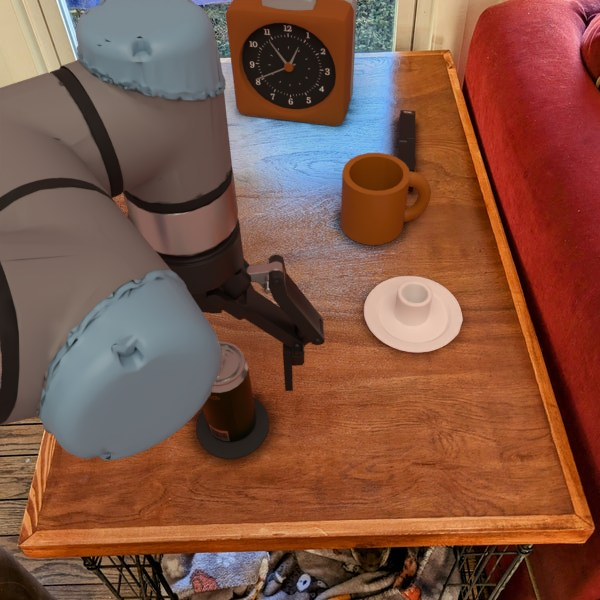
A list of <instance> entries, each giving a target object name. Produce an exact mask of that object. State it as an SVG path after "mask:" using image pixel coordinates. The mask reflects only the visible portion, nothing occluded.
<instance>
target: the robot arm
mask: <svg viewBox="0 0 600 600" xmlns="http://www.w3.org/2000/svg"><path fill="white" fill-rule="evenodd" d="M75 38H76V42H77V46H76V55H77V58H78V59H76V60H74V61H72V62H68V63H66V64H62V65H60V67H59V68H58V69H55V70H52V71H49V72H45V73H41V74H38V75H36V76H32V77H29V78H27V79H23V80H20V81H17V82H13V83H11V84H8V85H5V86H2V87H0V426H3V425H8V424H12V423H17V422H20V421H24V420H28V419H32V418H33V419H34V418H39V419H40V422H41V424H42V426H43V427H42V428H43V430H44V431H45V432H46V433H48V434H49V435H52V436H53V437H54V439H55V440H56V443H57V444H58V445H59V446H60V447H61V449H62V450H64V451H65V452H67V454H70V455H72V456H74V457H78V458H80V459H83V460H88V459H93V458H99V459H100V460H103V461H116V460H117V461H118V460H122V459H126V458H130V457H133V456H135V455H138V454H141V453H144V452H146V451H148V450H150V449H152V448H153V447H155V446H158V445H159V444H160V443H162V442H164V441H166V440H168V439H169V438H171V437H172V436H173V435H175V434H176V433H177V432H178V431H180V430H181V429H182V428H183V427H185V425H187V424H188V423H189V422H190V421H191V420H192V419H193V418H194V417H195V416H196V415H197V413H198V412H199V411H200V410H202V406H203V405H204V403H205V402H206V400H207V399H208V397H209V396H210V394H211V391H212V387H213V384H214V382H215V381H216V380H217V377H218V375H219V372H220V368H221V361H222V352H221V346H220V343H219V342H220V340H219V337H218V335H217V332H216V331H215V329H214V327H213V326H212V324H211V323H210V322H209V320H208V319H207V317H206V315H205V314H222V313H223V311H224V312H225V313H227V314H228V315H229V316H231V317H233V318H235V319H236V320H237V321H242V320H245V321H247V322H249V323H250V324H252V325H253V326H256V327H257V328H258V329H259V330H261V331H263V332H264V333H266V334H268V335H269V336H271V337H272V338H274V339H276V340H277V341H279V342H280V343H282V360H283V361H282V362H283V376H284V377H283V379H284V391H285V392H293V391H294V387H293V386H294V383H293V382H294V381H293V377H294V376H293V367H297V366H299V367H300V366H303V365H304V364H305V347H306V346H307V345H308V344H312V345H314V346H322V345H324V343H325V342H326V340H325V329H324V328H325V327H324V318H323V317H322V315H321V314H320V313H319V311H318V310H317V308H315V306H314V305H313V303H312V302H311V301H310V300H309V298H307V296H306V295H305V294H304V293H303V291H302V290H301V289H300V288H299V286H298V285H297V284H296V283H295V282H294V280H293V279H292V277H290V275H289V274H288V273H287V269H286V264H285V260H284V257H283V255H280V254H272V255H270V256H269V258H268V263H261V264H251V265H250V263H249V262H248V261H247V260H246V259H245V257H244V251H243V242H242V232H241V225H240V220H239V208H238V200H237V199H238V198H237V191H236V183H235V177H234V176H235V175H234V170H233V163H232V154H231V143H230V134H229V124H228V116H227V115H228V114H227V107H226V106H227V105H226V96H225V90H226V86H227V85H226V78H225V76H224V74H223V67H222V62H221V56H220V50H219V46H218V41H217V38H216V34H215V29H214V26H213V23H212V20H211V17H210V16H209V15H208V13H207V12H206V11H205V10H204V8H203V7H201V6H200V5H198V4H197V3H195V2H194V1H193V0H100V1H99V3H98V5H96V6H91V7H88V8H87V9H86V10H85V11H84V12H83V13H82V14H81V16H80V17H79V19H78V21H77V24H76V27H75ZM121 195H123V199H124V203H125V206H126V210H127V214H128V213H129V216H130V220H131V221H130V220H129V219H128V217H127V215H126V214H125V212H124V211H123V210H122V209H121V207H120V206H119V205H118V204H117V202H116V201H115V200H114V198H116V197H118V196H121ZM252 283H257V284H258V285H260V287H261V288H262V289H263V290H264V293H265V294H267V295H269V294H271V296H272V297H271V298H272V299H273V300H274V302H275V303H274V302H273V301H271V299H269V298H267V297H265V295H263V294H262V293H260V292H259V291H258V290H256V289H255V288H254V285H253V284H252Z"/></svg>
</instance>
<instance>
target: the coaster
mask: <svg viewBox="0 0 600 600" xmlns="http://www.w3.org/2000/svg"><path fill="white" fill-rule="evenodd" d="M253 399H254V406H255V412H256V425H255V427H254V429H253V431H252V432H251V433H250V434H249V435H248V436H247V437H246V438H245V439H243V440H241V441H240V442H235V443H225V442H223V441H220V440H217V439H216V438H215V437H214V436H213V435H211V433H210V431H209V429H208V427H207V423H206V420H205V416H204V413H203V409H202V408H201V409H200V410H201V411H200V412H199V413H198V416H197V419H196V422H195V423H196V424H195V432H196V437H197V440H198V442H199V444H200V445H201V447H202V449H204V450H205V451H206V453H208V454H210V455H211V456H213V457H216V458H218V459H221V460H238V459H242V458H245V457H247V456H249V455H251V454H253V453H254V452H256V451H257V450H258V449H259V448H260V447H261V446H262V445H263V443H264V442H265V440H266V439H267V436H268V433H269V430H270V418H269V414H268V411H267V409H266V407H265V406H264V405H263V403H262V402H261V401H259V399H257V397H254V396H253Z"/></svg>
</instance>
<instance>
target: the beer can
mask: <svg viewBox="0 0 600 600" xmlns="http://www.w3.org/2000/svg"><path fill="white" fill-rule="evenodd" d="M219 343H220V346H221V352H222V361H221V368H220V372H219V375H218V377H217V380H216V381H215V382H214V384H213V387H212V391H211V394H210V396H209V397H208V399H207V400H206V402H205V403H204V405H203V406H202V408H201V410H202V409H203V413H204V416H205V420H206V423H207V427H208V429H209V431H210V433H211V435H213V436H214V437H215V438H216V439H217V440H220V441H223V442H225V443H235V442H240V441H241V440H243V439H245V438H246V437H247V436H248V435H249V434H250V433H251V432H252V431H253V429H254V427H255V425H256V412H255V406H254V399H253V397H254V395H253V388H252V387H253V386H252V381H251V375H250V370H249V369H250V367H249V364H248V360H247V358H246V356H245V355H244V353H243V351H242V350H241V348H240V347H238V346H237V345H236V344H235V343H232V342H228V341H219Z"/></svg>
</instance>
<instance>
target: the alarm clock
mask: <svg viewBox="0 0 600 600" xmlns="http://www.w3.org/2000/svg"><path fill="white" fill-rule="evenodd" d="M357 9H358V1H357V0H232V1H231V3H230V4H229V5H228V7H227V10H226V12H225V22H226V29H227V39H228V46H229V54H230V62H231V63H230V64H231V73H232V80H233V89H234V98H235V106H236V109H237V111H238V113H239V114H241V115H243V116H247V117H256V118H262V119H263V118H265V119H271V120H281V121H288V122H290V121H291V122H296V123H297V122H298V123H305V124H313V125H322V126H332V127H336V126H340V125H342V124H343V123H344V121H345V119H346V117H347V114H348V110H349V108H350V104H351V101H352V98H353V94H354V76H355V75H354V74H355V56H356V55H355V54H356V35H357V34H356V33H357Z"/></svg>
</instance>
